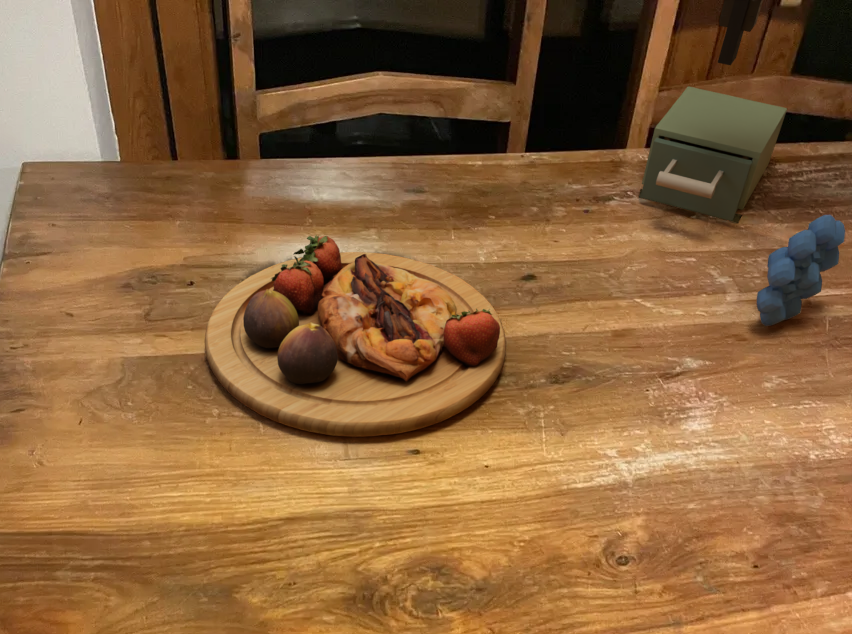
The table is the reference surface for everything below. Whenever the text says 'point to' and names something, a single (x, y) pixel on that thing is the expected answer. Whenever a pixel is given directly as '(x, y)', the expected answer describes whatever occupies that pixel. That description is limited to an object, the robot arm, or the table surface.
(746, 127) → the cabinet
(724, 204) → the drawer
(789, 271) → the grapes
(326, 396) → the wooden plate
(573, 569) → the table surface
